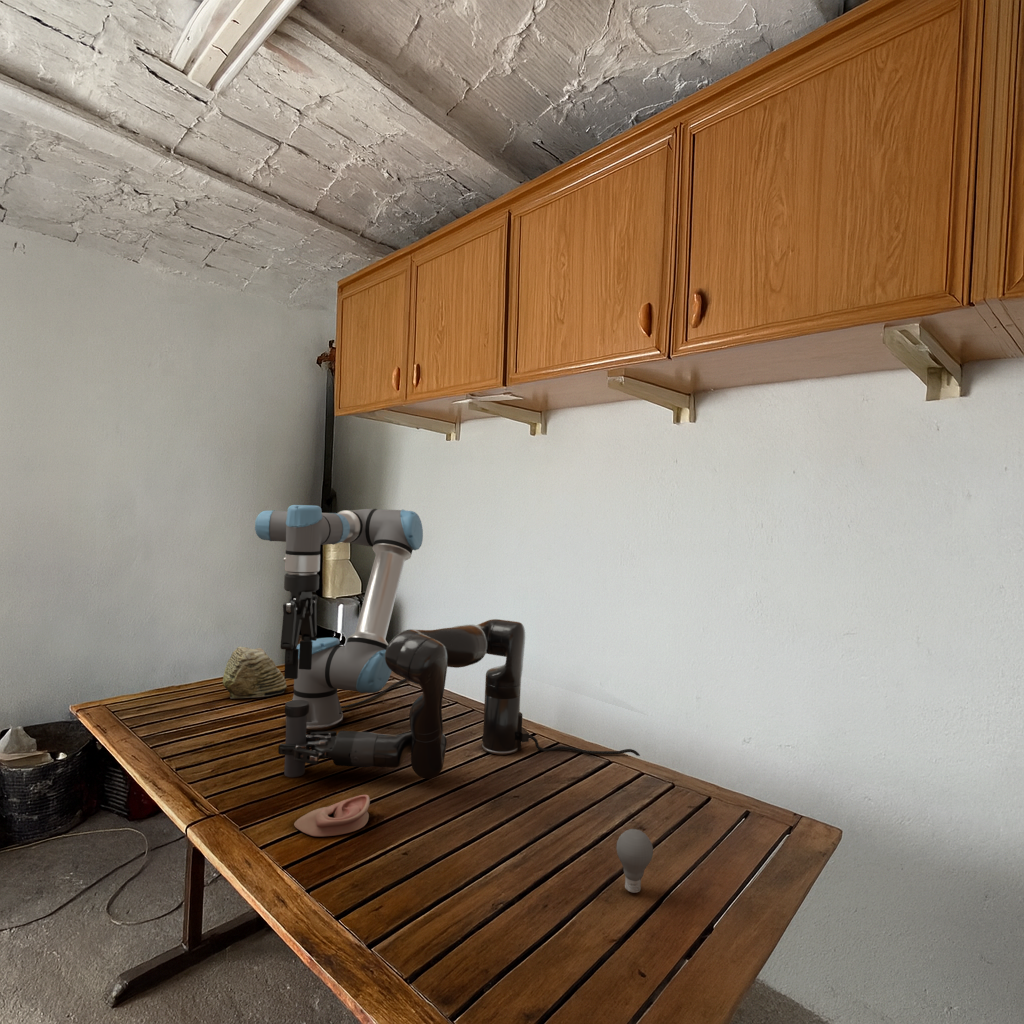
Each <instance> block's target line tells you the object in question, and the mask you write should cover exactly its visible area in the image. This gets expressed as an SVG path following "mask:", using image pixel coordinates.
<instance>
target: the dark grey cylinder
mask: <svg viewBox="0 0 1024 1024" xmlns="http://www.w3.org/2000/svg"><path fill="white" fill-rule="evenodd" d="M306 728H307V714H306V715H304V716H299V717H290V716H287V715H285V739H284V741H285V742H284V744H296V745H301V744H306V735H307V732H306ZM302 749H305V748H302ZM294 758H295V756H294V755H284V770H283V774H284V776H285V777H288V778H298V777H302V776H303V775H305V773H306V763H304V762H299V761H295V760H294Z"/></svg>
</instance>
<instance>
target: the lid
mask: <svg viewBox="0 0 1024 1024" xmlns="http://www.w3.org/2000/svg"><path fill="white" fill-rule="evenodd" d="M308 713H309V702H308V701H305V700H293V701H292V700H288V701H286V702H285V706H284V715H285V716H286V715H287V716H290V717H299V716H304V715H306V714H308Z"/></svg>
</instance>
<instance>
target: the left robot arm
mask: <svg viewBox="0 0 1024 1024" xmlns="http://www.w3.org/2000/svg"><path fill="white" fill-rule="evenodd" d="M322 511H323V510H322V508H321V506H319V505H311V504H291V505H289V506H288V508H287V510H275V509H274V510H273V509H272V510H263V511H261V512H260V513H258V514H257V516H256V518H255V522H254V523H255V524H254V531H255V534H256V536H257V538H259V539H260V540H263V541H268V542H283V543H285V557H283V561H284V571H285V572H286V573H285V574H284V580H283V590H284V591H287V592H289V593H290V595H289V600H288V602H283V604H282V612H283V614H282V615H283V616H282V624H281V625H282V627H281V637H280V649H281V650H284V651H285V652H284V674H283V676H284V678H285V679H288V680H293V695H292V696H293V697H292V699H291V701H293V700H305V701H308V702H309V713H308V714H307V728H306V733H311V732H326V731H330V730H332V729H335V728H337V727H339V726H340V725H342V723H343V722H344V714H343V709H349V708H352V707H355V706H358V705H361V704H364V703H367V702H370V701H372V700H374V699H376V698H377V697H380V696H381V695H383V694H384V693H386V692H388V691H389V690H390V689H392V688H394V687H395V686H398V685H400V684H402V683H404V682H406V681H408V680H407V679H405V678H403V679H401V680H399V681H397V682H395V683H393V684H391V685H390V686H388V687H386V688H385V689H383V688H384V687H385V686H386V685H387V684H388V681H389V680H390V677H391V675H392V672H393V671H392V670H390V669H389V667H388V666H387V664H386V661H385V652H386V649H387V646H388V644H389V643H388V642H387V640H386V638H387V634H388V630H389V626H390V621H391V619H392V614H393V610H394V606H395V601H396V597H397V593H398V590H399V586H400V582H401V577H402V573H403V569H404V565H405V562H406V561H408V560H410V559H411V557H412V554H413V551H417V550H419V549H420V548H421V547H422V545H423V540H424V539H423V538H424V530H423V523H422V520H421V518H420V516H419V514H418V513H417V512H416V511H413V510H406V509H387V508H386V509H383V508H362V509H353V510H352V509H351V510H345V509H344V510H340V511H338V512H337V513H336V512H322ZM340 543H343V544H355V545H359V546H364V547H372V550H373V552H374V554H375V557H374V560H373V563H372V567H371V570H370V571H371V572H370V576H369V578H368V582H367V586H366V589H365V593H364V598H363V601H362V605H361V609H360V613H359V615H358V620H357V624H356V627H355V631H354V633H353V634H351V635H349V636H348V637H347V640H346V643H345V645H341V641H340V639H339V638H337V637H317V635H318V625H317V624H318V623H317V622H318V621H317V620H318V619H317V617H318V615H317V614H318V613H317V607H318V605H317V603H318V595H317V594H313V592H316V591H318V590H319V589H320V575H319V572H320V571H321V545H322V546H326V545H333V546H334V545H336V544H340ZM300 633H301V635H300ZM300 636H301V640H300V641H299V638H300ZM298 642H299V643H298ZM382 689H383V690H382ZM338 690H342V691H351V692H358V693H360V694H364V693H367V694H374V693H375V695H372V696H370V697H368V698H365V699H363V700H360V701H357V702H354V703H351V704H347V705H341V702H340V699H339V695H338ZM381 690H382V691H381ZM378 692H379V693H378ZM376 693H377V694H376Z"/></svg>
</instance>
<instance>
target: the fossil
mask: <svg viewBox="0 0 1024 1024" xmlns="http://www.w3.org/2000/svg"><path fill="white" fill-rule="evenodd" d="M222 676H223V677H222V685H223V687H224V688H225V690H226V691H228V693H229V698H230V699H250V698H264V697H271V696H275V695H281V694H284V693H285V691H286V689H287V687H288V686H287V680H286V678H284V674H283V673H282V672H281V669H279V668H278V667H277V665H276V663H275V662H274V660H273V659H272V658H271V657H270V656H269V655H268V654H267V653H266V652H265V650H264V649H263V648H260V647H258V648H251V647H247V646H246V647H245V646H238V647H237V648H236V649H235V650H233V651H232V653H231V656H230V657H229V659H228V660H227V663H226V666H225V668H224V671H223V675H222Z"/></svg>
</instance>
